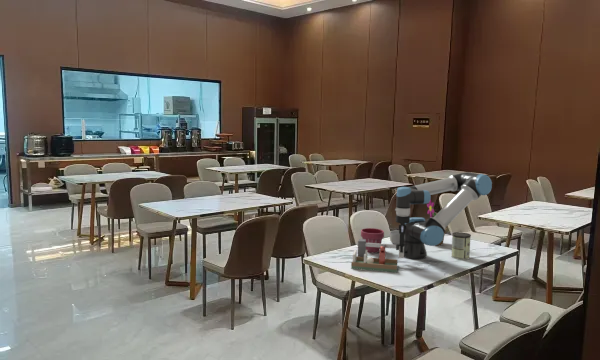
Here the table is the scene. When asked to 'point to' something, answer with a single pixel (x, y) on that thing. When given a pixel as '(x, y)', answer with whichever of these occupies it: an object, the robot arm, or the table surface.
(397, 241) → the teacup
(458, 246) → the coffee can
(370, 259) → the ball
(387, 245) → the slider
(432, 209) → the flowerpot
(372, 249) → the plant pot
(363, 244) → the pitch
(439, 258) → the table surface
